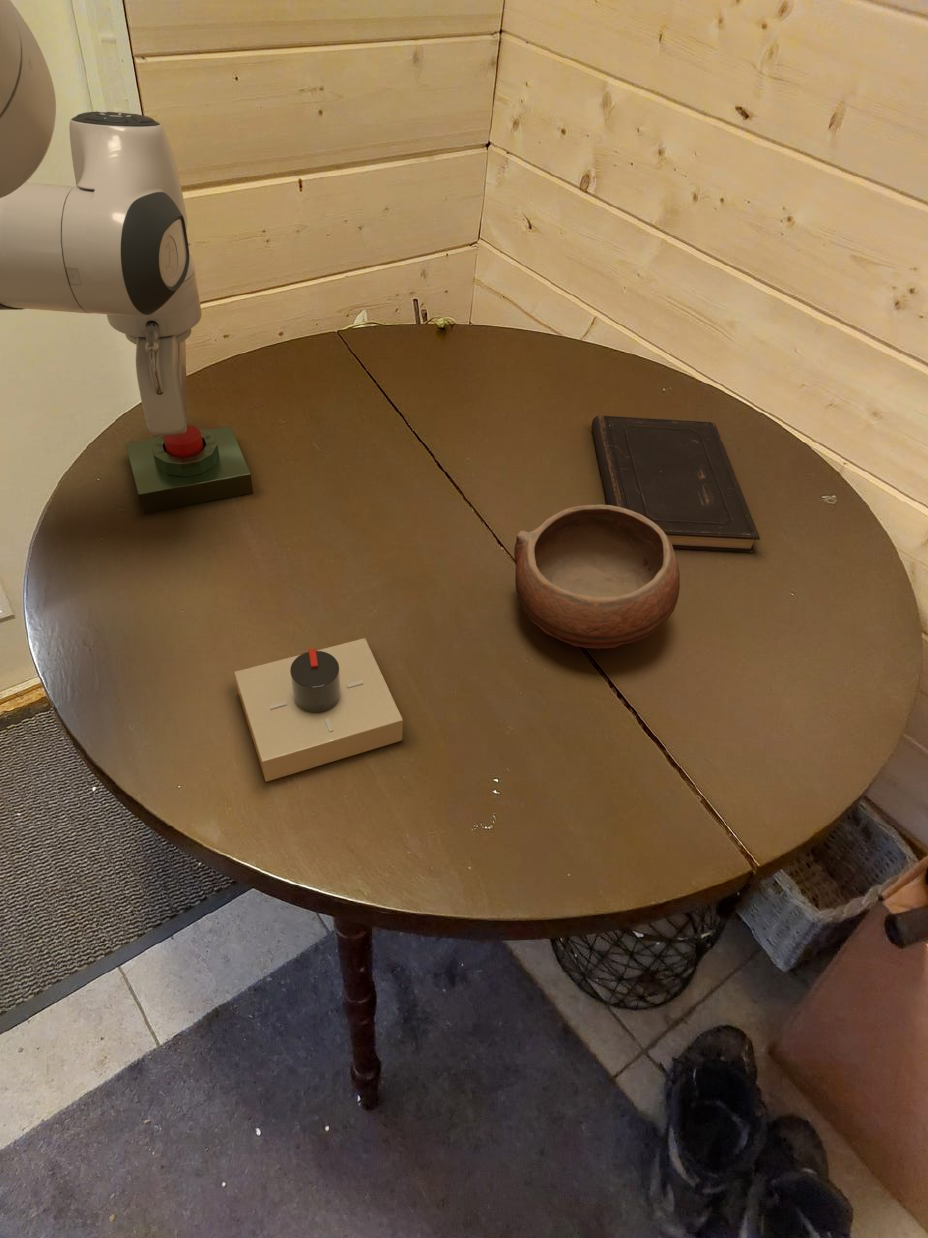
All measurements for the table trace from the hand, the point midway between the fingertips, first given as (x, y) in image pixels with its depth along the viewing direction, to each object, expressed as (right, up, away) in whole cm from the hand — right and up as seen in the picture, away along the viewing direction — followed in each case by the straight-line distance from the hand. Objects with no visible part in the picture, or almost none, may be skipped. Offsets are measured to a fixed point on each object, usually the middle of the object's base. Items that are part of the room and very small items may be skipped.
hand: (176, 423), depth 90 cm
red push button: (0, -2, +2) cm, 3 cm away
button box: (0, -5, +5) cm, 7 cm away
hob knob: (+19, -28, -19) cm, 39 cm away
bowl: (+44, -21, -6) cm, 49 cm away
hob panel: (+18, -30, -17) cm, 39 cm away
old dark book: (+56, -5, +11) cm, 57 cm away
